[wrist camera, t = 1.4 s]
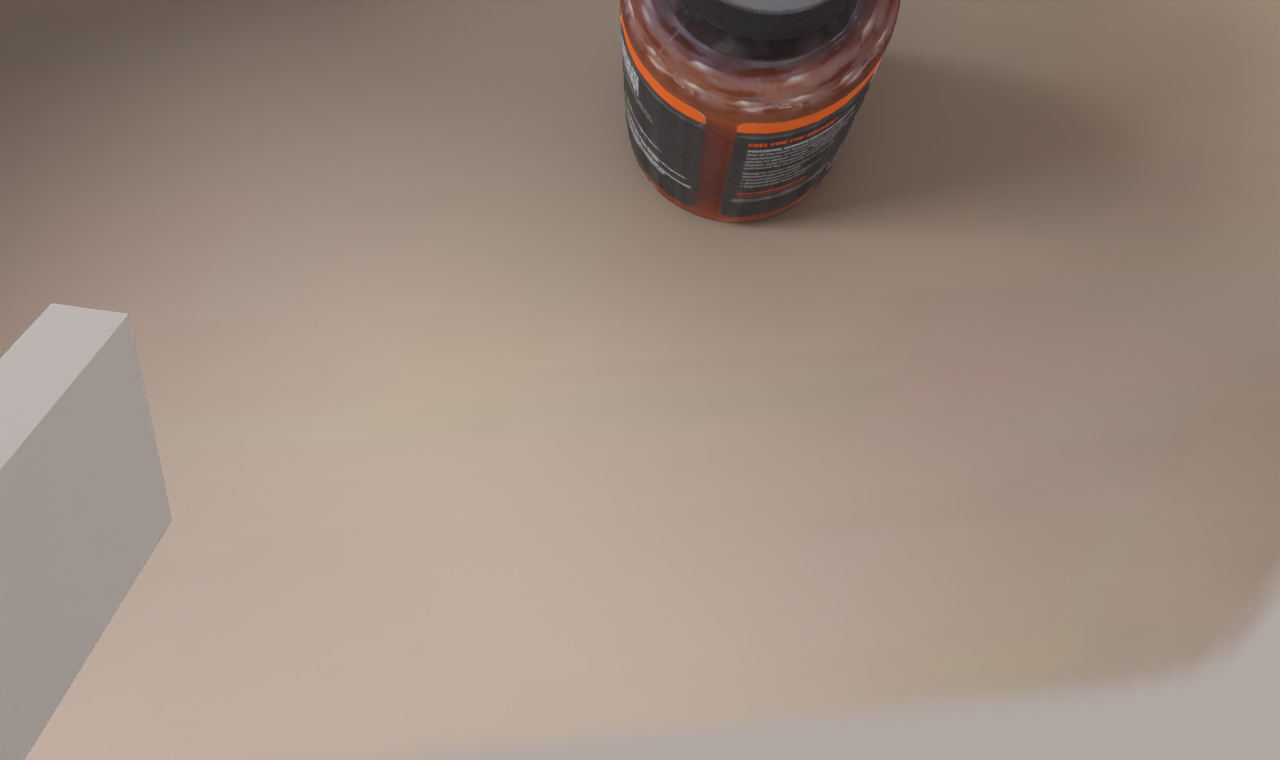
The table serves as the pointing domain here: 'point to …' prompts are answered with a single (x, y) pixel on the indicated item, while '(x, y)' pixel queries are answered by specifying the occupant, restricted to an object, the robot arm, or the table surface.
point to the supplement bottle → (746, 95)
